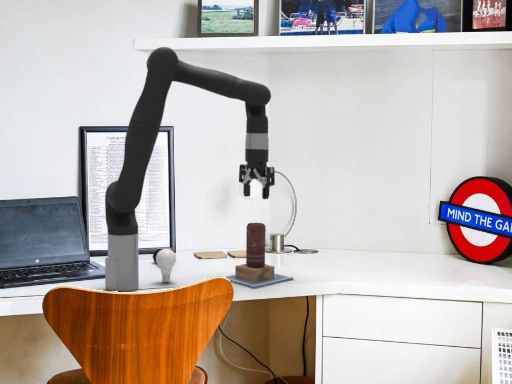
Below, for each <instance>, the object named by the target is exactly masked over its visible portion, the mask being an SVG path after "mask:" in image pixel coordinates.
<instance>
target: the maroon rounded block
mask: <svg viewBox="0 0 512 384" xmlns="http://www.w3.org/2000/svg"><path fill="white" fill-rule="evenodd" d="M266 229H267V228H266V225H265V223H262V222H249V223H247V224H246V241H245V242H246V243H245V246H246V247H245V248H246V249H245V250H246V251H245V252H246V255H245V260H246V261H245V264H246V265H247V266H248V267H251V268H261V267H264V265H265V264H266V233H267V231H266Z"/></svg>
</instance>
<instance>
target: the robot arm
mask: <svg viewBox="0 0 512 384" xmlns="http://www.w3.org/2000/svg"><path fill="white" fill-rule="evenodd" d="M146 69H147V70H146V71H147V72H146V77H145V81H144V85H143V88H142V91H141V94H140V96H139V98H138V100H137V102H136V105H135V106H134V109H133V111H132V113H131V117H130V119H129V122H128V126H127V129H126V133H125V140H124V152H123V154H124V155H123V164H122V168H121V170H120V174H119V177H118V178H117V180H115V181H112V182H111V183H110V184H109V185H108V186H107V188H106V191H105V193H104V201H105V202H104V205H105V207H104V210H105V212H104V213H105V223H106V227H107V228H106V229H107V257H105V260H104V267H105V269H104V271H105V272H104V275H105V278H104V279H105V281H104V282H105V286H104V287H105V289H106V290H109V291H112V292H114V291H121V292H132V291H135V290H138V289H139V285H140V284H139V282H140V281H139V280H140V279H139V224H138V221H137V217H136V209H137V207H139V205H140V202H141V200H142V195H143V189H144V188H143V187H144V183H145V179H146V178H145V177H146V174H147V170H148V166H149V164H150V160H151V158H152V155H153V152H154V148H155V146H156V141H157V139H158V136H159V132H160V129H161V125H162V121H163V116H164V112H165V107H166V101H167V98H168V94H169V91H170V88H171V85H172V83H173V82H174V83H181V84H184V85H188V86H192V87H196V88H199V89H201V90H205V91H207V92H210V93H214V94H216V95H219V96H222V97H225V98H228V99H233V100H239V101H241V102H244V107H245V109H244V110H245V115H246V122H245V123H246V125H245V126H246V127H245V129H246V131H245V140H244V142H245V143H244V146H245V147H244V149H245V150H244V151H245V153H244V161H245V162H246V163H245V164H243V163H242V164H239V168H238V169H239V170H238V171H239V172H238V183H241V184H242V185H243V187H242V188H243V189H242V192H243V193H242V194H243V196H244V197H250V196H251V183H252V181H253V180H254V179H255V180H258V181H259V182H260V183H261V185H262V191H261V192H262V193H261V198H262V199H263V200H268V199H269V198H270V188H271V187H273V186H275V183H276V181H275V177H276V176H275V166H268V165H267V163H268V162H269V157H270V156H269V155H270V154H269V153H270V152H269V151H270V150H269V146H270V145H269V144H270V141H269V140H270V139H269V118H268V116H267V115H266V114H267V113H266V111H267V109H266V105H268V104H269V102H270V101H271V97H272V93H271V90H270V89H269V88H268V87H267V86H266V85H264V84H262V83H259V82H255V81H251V80H247V79H243V78H240V77H238V76H235V75H232V74H230V73H228V72H227V73H226V72H225V71H224V72H223V71H221V70H220V71H219V70H216V69H211V68H205V67H200V66H197V65H193V64H190V63H187V62H185V61H183V60H181V59H179V57H178V55H177V53H176V52H175V50H173V49H172V48H171V47H168V46H160V47H158V48H155V49H154V50H153V51H152V52H151V53H150V54H149V55H148V57H147V59H146Z"/></svg>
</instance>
